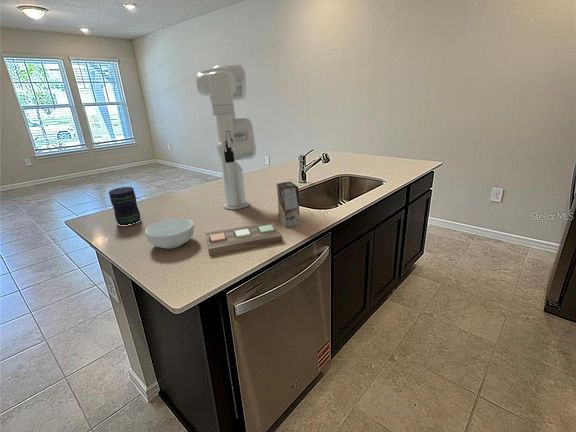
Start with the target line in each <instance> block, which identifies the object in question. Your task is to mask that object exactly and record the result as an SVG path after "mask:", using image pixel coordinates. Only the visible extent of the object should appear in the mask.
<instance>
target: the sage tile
mask: <svg viewBox="0 0 576 432" xmlns="http://www.w3.org/2000/svg"><path fill="white" fill-rule="evenodd" d="M258 231H259V233H260V234H265V233H270V232H274V228H273V227H272V226H271V225H265V226H259V227H258Z"/></svg>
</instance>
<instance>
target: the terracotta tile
mask: <svg viewBox="0 0 576 432" xmlns="http://www.w3.org/2000/svg"><path fill="white" fill-rule="evenodd" d="M210 238H211V243H215V242H221V241H226V238H225V235H224V233H219V234H214V235H210Z"/></svg>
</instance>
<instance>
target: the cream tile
mask: <svg viewBox="0 0 576 432" xmlns="http://www.w3.org/2000/svg"><path fill="white" fill-rule="evenodd" d="M248 236H251V234H250V232H249V230H248V229H242V230H236V231H235V237H236V239H237V238H243V237H248Z"/></svg>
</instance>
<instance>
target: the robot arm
mask: <svg viewBox="0 0 576 432" xmlns="http://www.w3.org/2000/svg"><path fill="white" fill-rule="evenodd" d="M246 78H247V77H246V72H245V69H244V67H243V66H242V65H241V64H239V63H231V64H230V63H228V64H227V63H226V64H225V63H224V64H223V63H222V64H217V65H215V66H213V68H209V69H206V70H202V71H201V70H200V71H199V72H198V73H197V75H196V79H195V84H196V85H195V86H196V89H197V91H198V93H199V94H200V95H201V96H203V97H206V96H207V97H208V96H209V101H210V102H211V109H212V115H213V116H215V118H216V122H215V123H216V129H217V139H218V143H217V146H216V152H217V155H218V158H219V162H220V168H221V173H222V182H223V189H224V196H225V202H223V204H222V205H223V208H224V209H226V210H240V209H245V208H246V207H248V206H249V205H250V201H249V200H248V199H246V191H245V190H246V189H245V182H244V181H245V180H244V172H243V168H242V166H241V165H240V164H239V163H238V162H237V161H240V160H241V161H243V160H250V159H254V158H255V157H256V155H257V145H256V141H255V133H254V128H253V123H252V121H251V120H250V119H249V118H246V117H242V118H236V112H235V104H234V101H242V100H245V98H246V96H247V80H246Z"/></svg>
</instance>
